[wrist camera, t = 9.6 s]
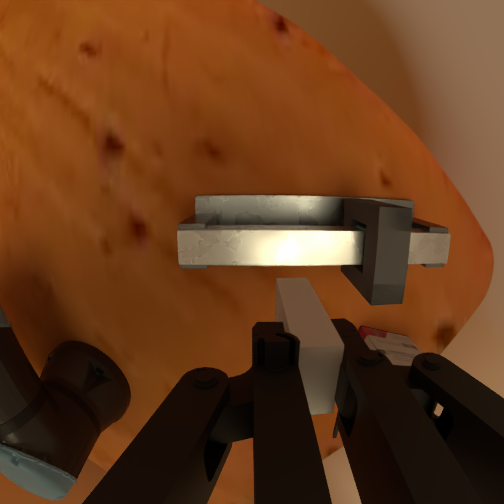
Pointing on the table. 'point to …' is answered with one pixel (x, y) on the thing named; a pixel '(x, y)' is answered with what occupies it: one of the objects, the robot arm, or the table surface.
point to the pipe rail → (281, 214)
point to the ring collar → (380, 249)
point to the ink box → (390, 345)
